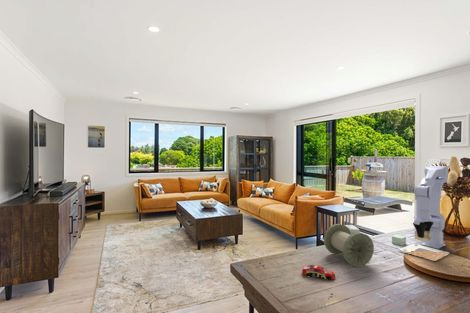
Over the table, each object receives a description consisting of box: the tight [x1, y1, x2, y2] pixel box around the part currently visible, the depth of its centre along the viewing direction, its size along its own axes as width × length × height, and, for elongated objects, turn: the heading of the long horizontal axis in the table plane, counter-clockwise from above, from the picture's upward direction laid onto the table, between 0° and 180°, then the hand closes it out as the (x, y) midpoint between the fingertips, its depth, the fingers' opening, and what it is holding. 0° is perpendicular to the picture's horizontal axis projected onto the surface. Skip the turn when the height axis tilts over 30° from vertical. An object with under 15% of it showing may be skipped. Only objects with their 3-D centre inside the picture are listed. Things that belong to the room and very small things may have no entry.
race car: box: [301, 264, 336, 281], centre depth 111 cm, size 13×5×4 cm, turn 66°
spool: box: [323, 223, 375, 268], centre depth 127 cm, size 16×15×15 cm
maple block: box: [414, 230, 431, 242], centre depth 134 cm, size 5×5×4 cm
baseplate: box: [398, 243, 450, 255], centre depth 134 cm, size 16×16×1 cm
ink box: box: [344, 224, 361, 235], centre depth 140 cm, size 9×5×12 cm, turn 179°
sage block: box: [391, 234, 407, 247], centre depth 148 cm, size 5×5×4 cm
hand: (423, 236), depth 133 cm, fingers closed on maple block, 5 cm apart
